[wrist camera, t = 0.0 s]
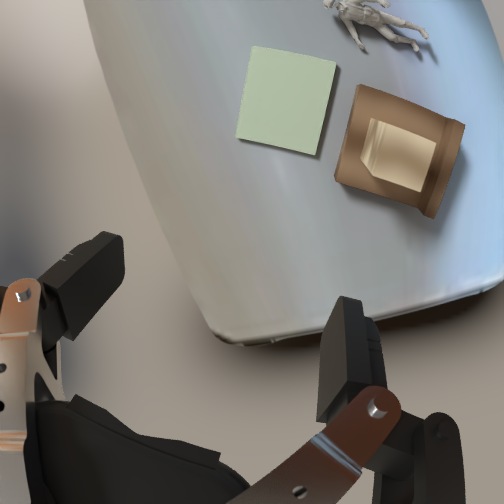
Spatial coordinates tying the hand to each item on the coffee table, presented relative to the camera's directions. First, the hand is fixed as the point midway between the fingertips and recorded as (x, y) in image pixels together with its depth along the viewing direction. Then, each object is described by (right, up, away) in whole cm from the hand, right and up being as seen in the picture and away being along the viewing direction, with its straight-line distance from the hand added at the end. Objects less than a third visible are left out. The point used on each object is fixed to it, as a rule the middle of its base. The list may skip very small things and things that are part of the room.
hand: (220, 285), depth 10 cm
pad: (+5, +19, +22) cm, 30 cm away
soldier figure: (+16, +28, +15) cm, 36 cm away
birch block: (+16, +13, +20) cm, 29 cm away
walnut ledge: (+18, +14, +22) cm, 32 cm away
